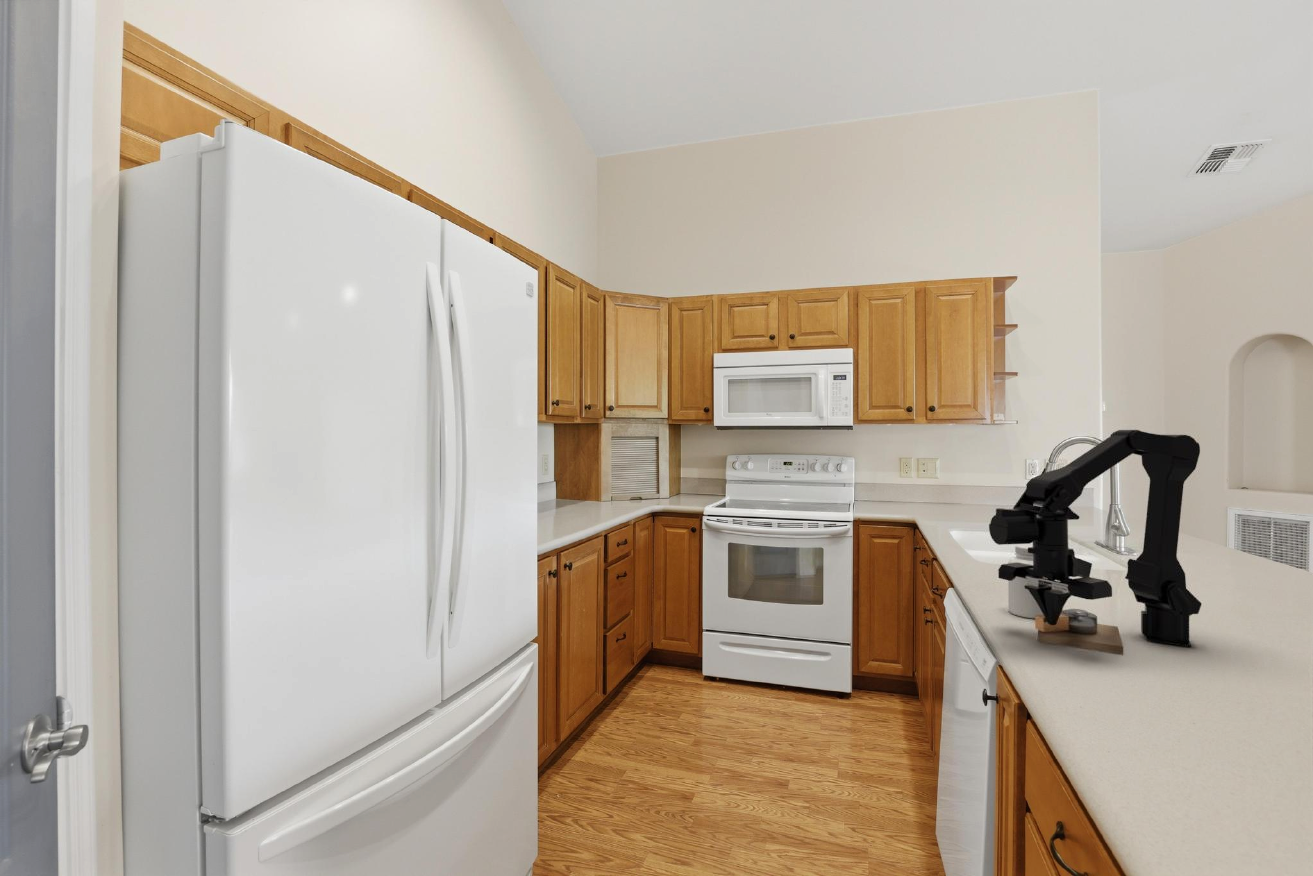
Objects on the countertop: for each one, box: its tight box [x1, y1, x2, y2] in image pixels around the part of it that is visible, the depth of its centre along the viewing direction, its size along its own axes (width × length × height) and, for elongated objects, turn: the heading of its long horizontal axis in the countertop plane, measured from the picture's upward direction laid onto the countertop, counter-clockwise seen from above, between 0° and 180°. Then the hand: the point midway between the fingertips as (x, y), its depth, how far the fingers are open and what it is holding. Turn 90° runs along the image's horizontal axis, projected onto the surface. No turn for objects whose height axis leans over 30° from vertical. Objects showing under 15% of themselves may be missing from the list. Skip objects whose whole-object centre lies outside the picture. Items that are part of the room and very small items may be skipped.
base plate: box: [1037, 623, 1124, 656], centre depth 116 cm, size 13×13×2 cm
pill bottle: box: [1007, 544, 1047, 619], centre depth 131 cm, size 8×8×15 cm
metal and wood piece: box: [1034, 608, 1098, 634], centre depth 115 cm, size 12×6×3 cm, turn 98°
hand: (1052, 624), depth 113 cm, fingers closed
